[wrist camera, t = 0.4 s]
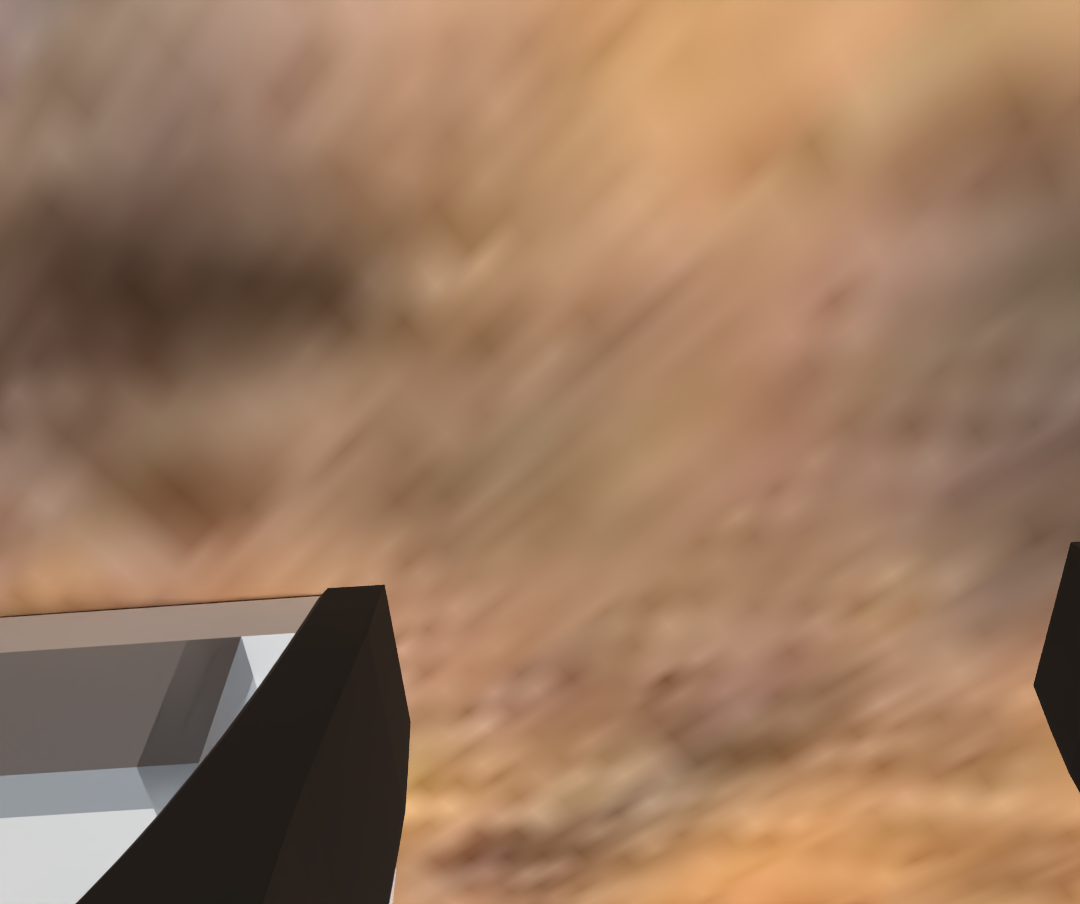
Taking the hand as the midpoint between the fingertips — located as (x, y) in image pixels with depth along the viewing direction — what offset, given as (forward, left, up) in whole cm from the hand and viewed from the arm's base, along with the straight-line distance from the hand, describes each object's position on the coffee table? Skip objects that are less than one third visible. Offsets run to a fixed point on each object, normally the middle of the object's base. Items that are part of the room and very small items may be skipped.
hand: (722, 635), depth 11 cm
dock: (-12, +13, -10) cm, 20 cm away
